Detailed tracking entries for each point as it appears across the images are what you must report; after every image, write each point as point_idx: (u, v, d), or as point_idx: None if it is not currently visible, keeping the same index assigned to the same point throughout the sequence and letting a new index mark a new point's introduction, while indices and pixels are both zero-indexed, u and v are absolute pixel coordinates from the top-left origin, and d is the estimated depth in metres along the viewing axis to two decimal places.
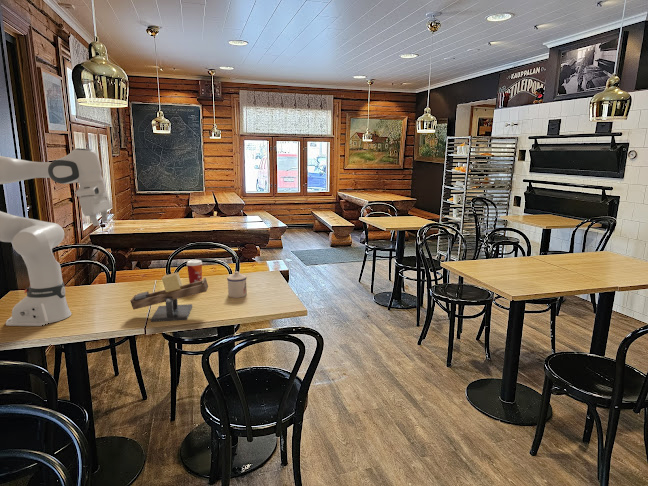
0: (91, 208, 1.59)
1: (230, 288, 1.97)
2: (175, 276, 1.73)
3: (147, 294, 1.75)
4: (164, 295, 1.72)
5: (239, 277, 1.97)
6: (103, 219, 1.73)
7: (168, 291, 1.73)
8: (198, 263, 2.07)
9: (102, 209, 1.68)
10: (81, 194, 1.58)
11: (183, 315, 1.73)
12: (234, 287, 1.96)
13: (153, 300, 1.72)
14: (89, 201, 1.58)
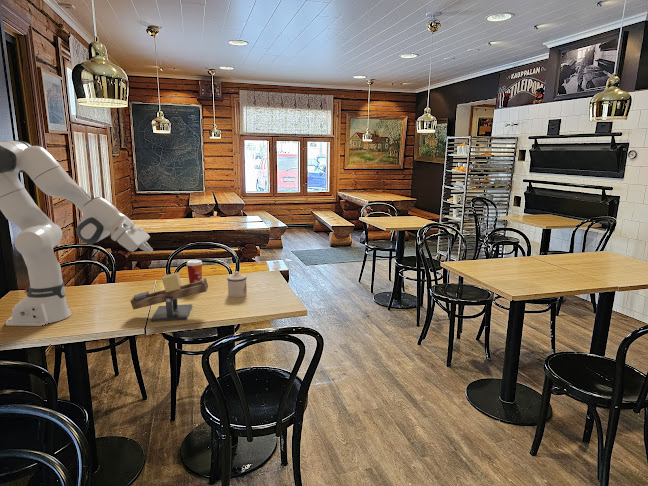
0: (132, 241, 1.59)
1: (230, 288, 1.97)
2: (175, 276, 1.73)
3: (147, 294, 1.75)
4: (164, 295, 1.72)
5: (239, 277, 1.97)
6: None
7: (168, 291, 1.73)
8: (198, 263, 2.07)
9: (143, 239, 1.69)
10: (116, 236, 1.59)
11: (183, 315, 1.73)
12: (234, 287, 1.96)
13: (153, 300, 1.72)
14: (126, 237, 1.59)
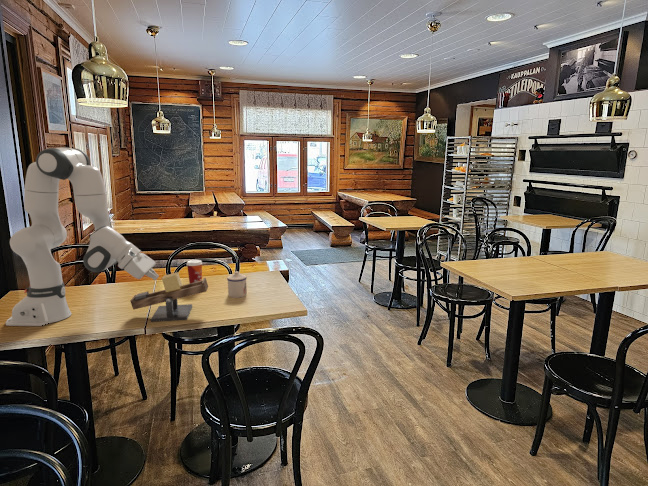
0: (139, 269, 1.62)
1: (230, 288, 1.97)
2: (175, 276, 1.73)
3: (147, 294, 1.75)
4: (164, 295, 1.72)
5: (239, 277, 1.97)
6: None
7: (168, 291, 1.73)
8: (198, 263, 2.07)
9: (149, 266, 1.72)
10: (123, 264, 1.62)
11: (183, 315, 1.73)
12: (234, 287, 1.96)
13: (153, 300, 1.72)
14: (133, 265, 1.62)
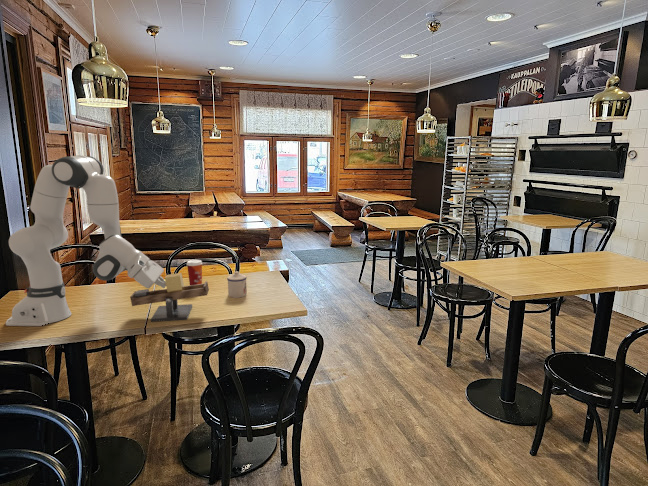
0: (148, 278, 1.63)
1: (230, 288, 1.97)
2: (178, 277, 1.73)
3: (147, 292, 1.74)
4: (164, 295, 1.72)
5: (239, 277, 1.97)
6: None
7: (170, 291, 1.73)
8: (198, 263, 2.07)
9: (158, 274, 1.73)
10: (132, 274, 1.63)
11: (183, 315, 1.73)
12: (234, 287, 1.96)
13: (153, 298, 1.72)
14: (142, 274, 1.63)
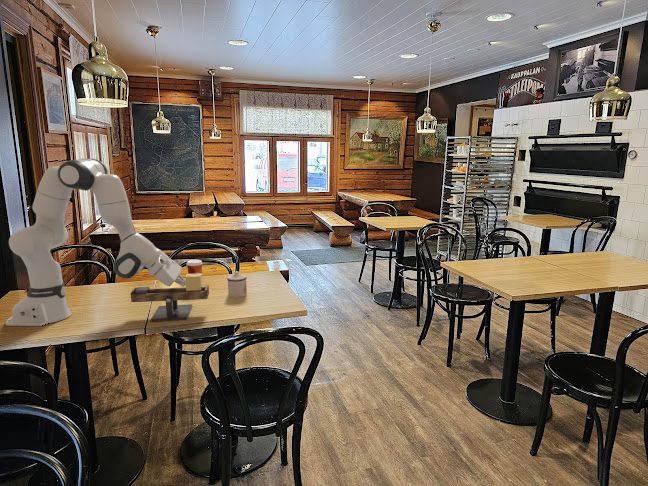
0: (169, 277, 1.64)
1: (230, 288, 1.97)
2: (199, 277, 1.74)
3: (148, 289, 1.74)
4: (165, 294, 1.72)
5: (239, 277, 1.97)
6: None
7: (188, 290, 1.75)
8: (198, 263, 2.07)
9: (177, 272, 1.74)
10: (153, 272, 1.64)
11: (183, 315, 1.73)
12: (234, 287, 1.96)
13: (153, 297, 1.72)
14: (163, 272, 1.64)
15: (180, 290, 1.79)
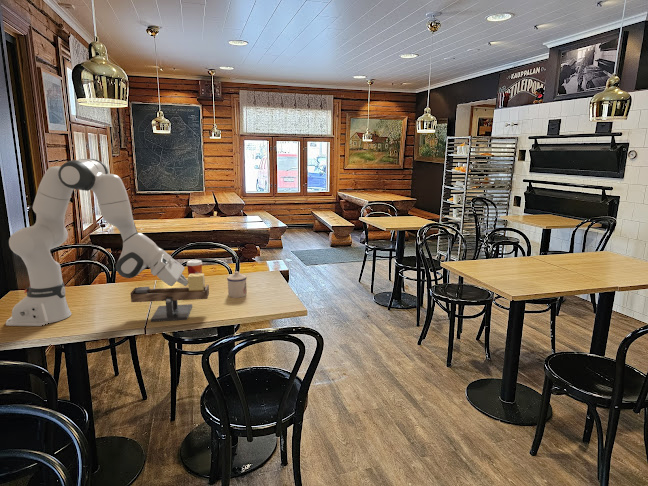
0: (171, 276, 1.65)
1: (230, 288, 1.97)
2: (201, 277, 1.74)
3: (148, 289, 1.74)
4: (165, 294, 1.72)
5: (239, 277, 1.97)
6: None
7: (191, 290, 1.75)
8: (198, 263, 2.07)
9: (179, 272, 1.75)
10: (156, 272, 1.64)
11: (183, 315, 1.73)
12: (234, 287, 1.96)
13: (153, 297, 1.72)
14: (166, 272, 1.64)
15: (180, 290, 1.79)
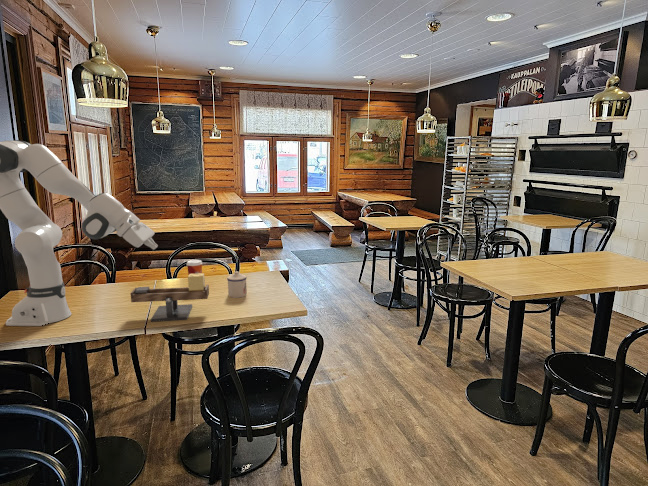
0: (137, 237, 1.59)
1: (230, 288, 1.97)
2: (201, 277, 1.74)
3: (148, 289, 1.74)
4: (165, 294, 1.72)
5: (239, 277, 1.97)
6: None
7: (191, 290, 1.75)
8: (198, 263, 2.07)
9: (148, 235, 1.69)
10: (121, 232, 1.59)
11: (183, 315, 1.73)
12: (234, 287, 1.96)
13: (153, 297, 1.72)
14: (131, 233, 1.59)
15: (180, 290, 1.79)
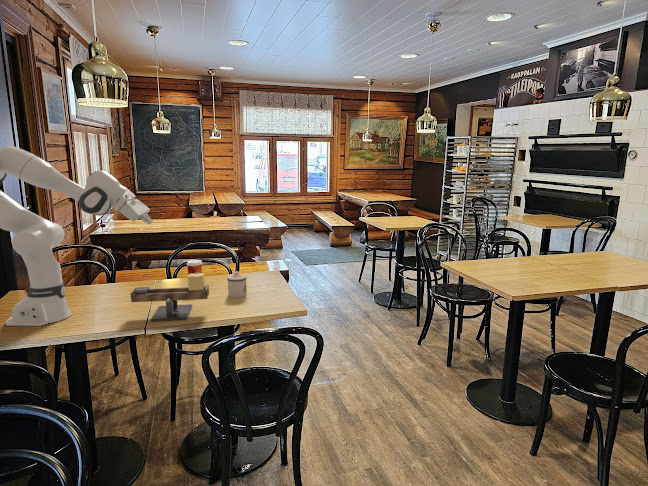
0: (133, 211, 1.69)
1: (230, 288, 1.97)
2: (201, 277, 1.74)
3: (148, 289, 1.74)
4: (165, 294, 1.72)
5: (239, 277, 1.97)
6: None
7: (191, 290, 1.75)
8: (198, 263, 2.07)
9: (143, 211, 1.79)
10: (118, 206, 1.69)
11: (183, 315, 1.73)
12: (234, 287, 1.96)
13: (153, 297, 1.72)
14: (127, 207, 1.68)
15: (180, 290, 1.79)
